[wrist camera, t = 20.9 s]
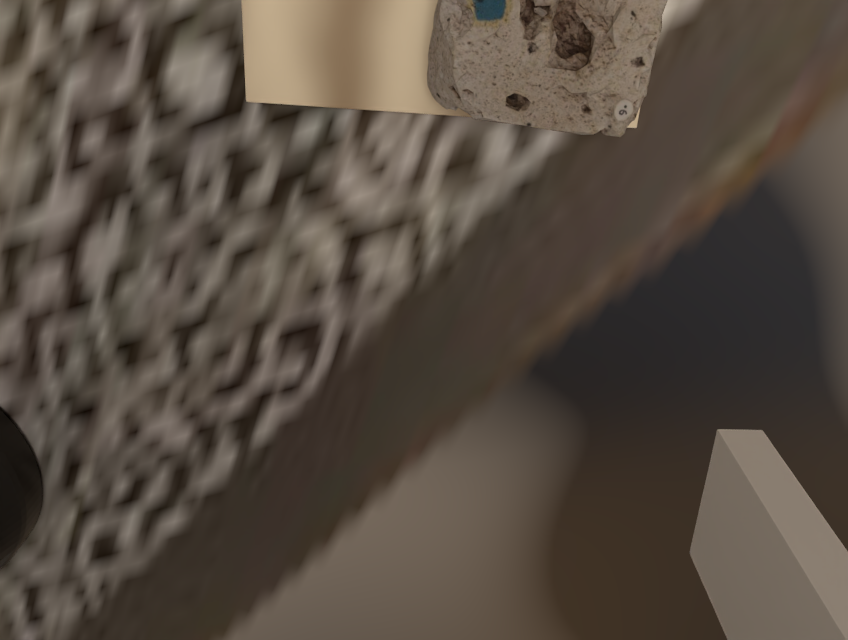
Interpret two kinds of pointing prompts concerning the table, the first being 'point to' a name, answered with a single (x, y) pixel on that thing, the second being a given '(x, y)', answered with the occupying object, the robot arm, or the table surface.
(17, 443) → the robot arm
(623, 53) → the stone
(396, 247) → the table surface
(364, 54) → the subfloor panel
